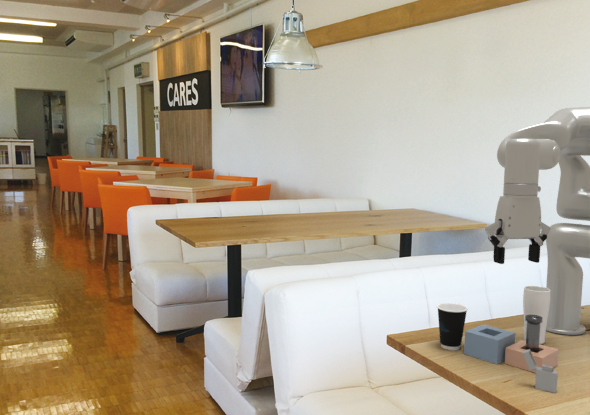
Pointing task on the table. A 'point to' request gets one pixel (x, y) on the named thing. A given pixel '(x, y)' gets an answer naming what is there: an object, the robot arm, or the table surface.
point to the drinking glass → (537, 307)
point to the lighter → (542, 374)
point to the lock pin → (533, 332)
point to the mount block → (541, 358)
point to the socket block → (488, 343)
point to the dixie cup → (451, 324)
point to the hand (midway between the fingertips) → (516, 262)
